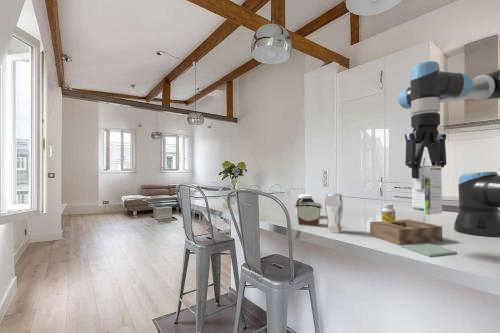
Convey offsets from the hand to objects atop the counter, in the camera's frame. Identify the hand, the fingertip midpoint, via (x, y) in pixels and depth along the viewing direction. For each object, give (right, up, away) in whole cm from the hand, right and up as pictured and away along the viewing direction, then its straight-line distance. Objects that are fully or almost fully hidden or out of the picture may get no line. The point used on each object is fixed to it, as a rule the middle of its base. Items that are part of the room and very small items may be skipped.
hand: (426, 188), depth 83 cm
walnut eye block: (+2, -19, +15) cm, 24 cm away
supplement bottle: (+7, -19, +35) cm, 41 cm away
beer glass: (-20, -20, +27) cm, 39 cm away
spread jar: (-24, -20, +62) cm, 69 cm away
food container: (-27, -20, +40) cm, 52 cm away
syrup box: (0, -8, 0) cm, 8 cm away
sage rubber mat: (0, -19, 0) cm, 19 cm away
